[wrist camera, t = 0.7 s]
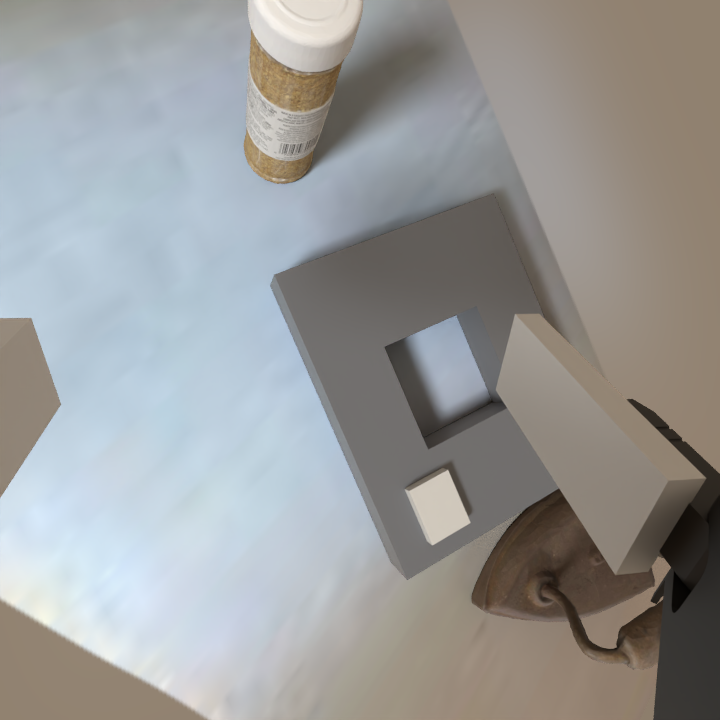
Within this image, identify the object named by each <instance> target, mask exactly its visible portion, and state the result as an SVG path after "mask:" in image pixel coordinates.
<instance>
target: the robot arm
mask: <svg viewBox="0 0 720 720" xmlns="http://www.w3.org/2000/svg"><path fill="white" fill-rule="evenodd" d="M496 391H497V393H498V394H499V396H500V398H501V399H502V401H503V402H504V404H505V405H506V407H507V408H508V410H509V411H510V413H511V415H512V416H513V418H514V419H515V421H516V422H517V424H518V425H519V427H520V428H521V430H522V432H523V433H524V435H525V436H526V438H527V439H528V441H529V442H530V444H531V445H532V447H533V449H534V450H535V452H536V453H537V455H538V456H539V458H540V459H541V461H542V462H543V464H544V466H545V467H546V469H547V470H548V472H549V473H550V475H551V476H552V478H553V480H554V481H555V483H556V484H557V486H558V487H559V489H560V490H561V492H562V493H563V495H564V497H565V498H566V500H567V501H568V503H569V504H570V506H571V507H572V509H573V510H574V512H575V514H576V515H577V517H578V518H579V520H580V521H581V523H582V524H583V526H584V527H585V529H586V531H587V532H588V534H589V535H590V537H591V538H592V540H593V541H594V543H595V545H596V546H597V548H598V549H599V551H600V552H601V554H602V555H603V557H604V558H605V560H606V562H607V563H608V565H609V566H610V568H611V569H612V571H613V572H614V574H615V575H621V574H631V573H641V572H648V571H649V570H650V568H651V567H652V565H653V563H654V562H655V560H656V559H657V557H658V555H659V554H660V553H661V555H662V556H663V557H664V558H665V560H666V561H667V562H668V564H669V565H670V566H671V569H670V570H669V572H668V573H667V575H666V576H665V578H664V579H663V581H662V582H661V584H660V585H659V587H658V588H657V590H656V591H655V593H654V595H653V597H652V599H651V602H653V603H655V604H657V603H658V601H659V600H660V598H661V597H662V596H664V597H663V609H662V621H661V634H660V646H659V658H658V670H657V683H656V696H655V707H654V719H653V720H720V474H719V473H718V472H717V471H716V470H715V469H714V468H713V467H712V466H711V465H710V464H709V463H708V462H706V461H705V460H704V459H703V458H702V457H701V456H700V455H699V454H698V453H697V452H696V451H695V450H694V449H693V448H692V447H690V445H688V444H687V443H686V442H683V441H682V438H681V437H680V436H679V435H678V434H677V433H676V432H675V431H674V430H673V429H669V426H668V425H667V424H666V423H665V422H664V421H663V420H662V419H661V418H660V417H659V416H658V415H657V414H656V413H655V412H653V411H652V410H650V409H648V408H647V407H645V406H643V405H642V404H640V403H638V402H637V401H635V400H633V399H625V398H624V397H623V396H622V395H621V394H620V393H619V392H618V391H617V390H616V389H615V388H614V387H613V386H612V385H611V384H610V383H609V382H608V381H607V380H606V379H605V378H604V377H603V376H602V375H601V374H600V373H599V372H598V371H597V370H596V369H595V368H594V367H593V366H592V365H591V364H590V363H589V362H588V361H587V360H586V359H585V358H584V357H583V356H582V355H581V354H580V353H579V352H578V351H577V350H576V349H575V348H574V347H573V346H572V345H571V344H570V343H568V342H567V341H566V340H565V339H564V338H563V337H562V336H561V335H560V334H559V333H558V332H557V331H556V330H555V329H554V328H553V327H552V326H551V325H550V324H549V323H548V322H547V321H546V320H545V319H544V318H543V317H542V316H541V315H540V314H515V316H514V320H513V324H512V328H511V332H510V336H509V340H508V344H507V347H506V351H505V355H504V359H503V363H502V367H501V371H500V375H499V379H498V382H497V386H496ZM60 405H61V403H60V400H59V397H58V394H57V392H56V389H55V386H54V383H53V380H52V377H51V374H50V371H49V368H48V365H47V363H46V360H45V357H44V354H43V351H42V348H41V345H40V342H39V339H38V336H37V334H36V331H35V328H34V325H33V322H32V319H31V318H0V497H1V496H2V494H3V493H4V491H5V490H6V488H7V487H8V485H9V484H10V482H11V480H12V479H13V477H14V476H15V474H16V473H17V471H18V470H19V468H20V467H21V465H22V464H23V462H24V461H25V459H26V457H27V456H28V454H29V453H30V451H31V450H32V448H33V447H34V445H35V444H36V442H37V441H38V439H39V437H40V436H41V434H42V433H43V431H44V430H45V428H46V427H47V425H48V424H49V422H50V421H51V419H52V417H53V416H54V414H55V413H56V411H57V410H58V408H59V407H60Z"/></svg>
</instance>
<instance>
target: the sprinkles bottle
mask: <svg viewBox="0 0 720 720" xmlns="http://www.w3.org/2000/svg"><path fill="white" fill-rule="evenodd" d="M362 11H363V0H248V17H249V22H250V25H251V47H250V55H249V64H248V86H247V108H246V125H247V129H246V136H245V140H244V150H245V156H246V159H247V161H248V163H249V165H250V166H251V168H252V169H253V171H254V172H256V173H257V174H258V175H259V176H260V177H262V178H264V179H265V180H267V181H271V182H273V183H277V184H279V183H282V184H285V183H289V182H294V181H296V180H298V179H300V178H301V177H302V176H304V175H305V173H306V172H307V170H308V169H309V168H310V166H311V163H312V159H313V150H314V148H315V147H316V145H317V143H318V140H319V137H320V134H321V131H322V129H323V126H324V123H325V120H326V117H327V114H328V111H329V108H330V105H331V102H332V99H333V96H334V93H335V86H336V82H337V78H338V75H339V72H340V69H341V65H342V62H343V60H344V59H345V57H346V56H347V55H348V53H349V52H350V50H351V48H352V45H353V43H354V39H355V36H356V33H357V30H358V27H359V23H360V20H361V15H362Z"/></svg>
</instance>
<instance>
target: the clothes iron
mask: <svg viewBox="0 0 720 720" xmlns="http://www.w3.org/2000/svg"><path fill="white" fill-rule="evenodd" d="M658 556H659V557H661V558H664V557H663V556H662V555H661V553H660V554H659V555H658ZM654 584H655V579H654V576H653V572H652V568H650V570H649V571H648V572H641V573H631V574H621V575H615V574H614V572H613V571H612V569H611V568H610V566H609V565H608V563H607V562H606V560H605V558H604V557H603V555H602V554H601V552H600V551H599V549H598V548H597V546H596V545H595V543H594V541H593V540H592V538H591V537H590V535H589V534H588V532H587V531H586V529H585V527H584V526H583V524H582V523H581V521H580V520H579V518H578V517H577V515H576V514H575V512H574V510H573V509H572V507H571V506H570V504H569V503H568V501H567V500H566V498H565V497H564V495H563V493H562V492H561V490H560V489H557V490H555V491H554V492H552V493H550V494H549V495H547V496H546V497H544V498H542V499H541V500H539V501H537V502H536V503H534V504H533V505H531V506H530V507H529V508H528V509H527V510H526V511H525V512H524V513H522V514H521V515H520V516H519V517H518V518H517V520H516V521H515V522H514V523H513V524H512V525H511V526H510V528H508V529H507V531H506V532H505V533H504V535H503V536H502V538H501V540H500V541H499V542H498V543H497V545H496V547H495V549H494V550H493V551H492V553H491V555H490V556H489V558H488V560H487V562H486V563H485V565H484V568H483V569H482V572H481V574H480V576H479V578H478V580H477V582H476V585H475V587H474V591H473V593H472V603H473V604H474V605H476V606H477V607H479V608H480V609H481V610H483V611H484V612H486V613H490V614H493V615H498V616H504V617H509V618H513V619H522V620H533V621H543V622H562V621H569V622H570V627H571V629H572V632H573V635H574V637H575V639H576V641H577V643H578V645H579V647H580V648H581V650H582V651H583V653H584V654H585V655H587V656H588V657H590V658H591V659H593V660H595V661H598V662H602V663H609V664H626V665H627V666H628V667H630V668H632V669H640V670H644V669H647V668H651V667H653V666H654V665H655V664H656V663H657V662H658V658H659V646H660V634H661V621H662V609H663V600H662V601H661V602H659V603H658V604H657V605H656V606H654V607H651V608H648V609H647V610H646V611H645V612H643V613H642V614H640V615H639V616H637V617H636V618H634V619H633V620H632V621H630V622H629V623H628V624H626V625H624V626H622V627H621V629H620V631H619V634H618V640H617V643H616V645H617V648H614V649H606V648H602V647H599V646H597V645H595V644H593V643H592V642H591V641H590V640H589V639H588V637H587V635H586V632H585V629H584V627H583V625H582V623H581V620H580V618H584V617H587V616H590V615H593V614H597V613H599V612H602V611H604V610H607V609H609V608H611V607H613V606H615V605H617V604H619V603H621V602H624V601H626V600H628V599H630V598H632V597H634V596H635V595H637V594H640V593H642V592H644V591H645V590H647V589H648V588H650V587H654Z"/></svg>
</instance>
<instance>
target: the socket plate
mask: <svg viewBox="0 0 720 720" xmlns="http://www.w3.org/2000/svg"><path fill="white" fill-rule="evenodd" d="M270 286H271V289H272V291H273V293H274V295H275V298H276V300H277V302H278V305H279V307H280V309H281V311H282V314H283V316H284V318H285V321H286V323H287V325H288V327H289V330H290V332H291V334H292V337H293V339H294V341H295V343H296V346H297V348H298V350H299V353H300V355H301V357H302V359H303V362H304V364H305V366H306V369H307V371H308V373H309V376H310V378H311V380H312V382H313V385H314V387H315V389H316V392H317V394H318V396H319V398H320V401H321V403H322V405H323V408H324V410H325V412H326V414H327V417H328V419H329V421H330V424H331V426H332V428H333V430H334V433H335V435H336V437H337V440H338V442H339V444H340V446H341V449H342V451H343V453H344V456H345V458H346V460H347V463H348V465H349V467H350V469H351V472H352V474H353V476H354V479H355V481H356V483H357V485H358V488H359V490H360V492H361V495H362V497H363V499H364V501H365V504H366V506H367V508H368V511H369V513H370V515H371V517H372V520H373V522H374V524H375V527H376V529H377V531H378V533H379V536H380V538H381V540H382V543H383V545H384V547H385V549H386V552H387V554H388V556H389V559H390V561H391V563H392V564H393V565H394V566H395V567H396V568H397V569H398V570H399V572H400V573H401V574H402V575H403V576H404V577H405V578H406V579H407V580H408V579H410V578H411V577H413V576H415V575H416V574H418V573H420V572H421V571H423V570H425V569H426V568H428V567H430V566H431V565H433V564H435V563H436V562H438V561H440V560H441V559H443V558H445V557H446V556H448V555H449V554H451V553H453V552H454V551H456V550H458V549H459V548H461V547H463V546H464V545H466V544H468V543H469V542H471V541H473V540H474V539H476V538H478V537H479V536H481V535H483V534H484V533H486V532H488V531H489V530H491V529H493V528H494V527H496V526H497V525H499V524H501V523H502V522H504V521H506V520H507V519H509V518H511V517H512V516H514V515H516V514H517V513H519V512H521V511H522V510H524V509H526V508H527V507H529V506H531V505H532V504H534V503H536V502H537V501H539V500H541V499H542V498H544V497H546V496H547V495H549V494H550V493H552V492H554V491H555V490H557V489H559V487H558V486H557V484H556V483H555V481H554V480H553V478H552V476H551V475H550V473H549V472H548V470H547V469H546V467H545V466H544V464H543V462H542V461H541V459H540V458H539V456H538V455H537V453H536V452H535V450H534V449H533V447H532V445H531V444H530V442H529V441H528V439H527V438H526V436H525V435H524V433H523V432H522V430H521V428H520V427H519V425H518V424H517V422H516V421H515V419H514V418H513V416H512V415H511V413H510V411H509V410H508V408H507V407H506V405H505V404H504V402H503V401H502V399H501V398H500V396H499V394H498V393H497V391H496V386H497V382H498V379H499V375H500V371H501V367H502V363H503V359H504V355H505V351H506V347H507V344H508V340H509V336H510V332H511V328H512V324H513V320H514V316H515V314H540V315H541V316H542V317H543V318H544V319H545V317H544V315H543V312H542V310H541V307H540V305H539V302H538V300H537V298H536V295H535V293H534V290H533V288H532V285H531V283H530V280H529V278H528V276H527V273H526V271H525V268H524V266H523V263H522V261H521V259H520V256H519V254H518V251H517V249H516V246H515V244H514V241H513V239H512V237H511V234H510V232H509V229H508V227H507V224H506V222H505V219H504V217H503V215H502V212H501V210H500V207H499V205H498V202H497V200H496V197H495V195H494V193H493V194H491V195H488V196H485V197H482V198H480V199H477V200H474V201H472V202H469V203H466V204H464V205H461V206H458V207H456V208H453V209H450V210H447V211H445V212H442V213H439V214H437V215H434V216H431V217H429V218H426V219H423V220H421V221H418V222H415V223H412V224H410V225H407V226H404V227H402V228H399V229H396V230H394V231H391V232H388V233H386V234H383V235H380V236H377V237H375V238H372V239H369V240H367V241H364V242H361V243H359V244H356V245H353V246H350V247H348V248H345V249H342V250H340V251H337V252H334V253H332V254H329V255H326V256H324V257H321V258H318V259H315V260H313V261H310V262H307V263H305V264H302V265H299V266H297V267H294V268H291V269H289V270H286V271H283V272H280V273H278V274H275V275H274V277H273V280H272V283H271V285H270ZM455 315H457V318H458V320H459V322H460V325H461V327H462V330H463V332H464V334H465V337H466V339H467V342H468V344H469V346H470V349H471V351H472V353H473V356H474V358H475V361H476V363H477V365H478V368H479V370H480V373H481V375H482V377H483V380H484V382H485V384H486V387H487V389H488V392H489V394H490V396H491V399H492V401H493V402H492V403H490V404H488V405H486V406H484V407H482V408H481V409H479V410H477V411H475V412H473V413H471V414H469V415H467V416H465V417H463V418H461V419H459V420H457V421H455V422H453V423H451V424H450V425H448V426H446V427H444V428H442V429H440V430H438V431H436V432H434V433H432V434H430V435H428V436H426V437H424V438H423V436H422V434H421V432H420V429H419V427H418V425H417V422H416V420H415V418H414V415H413V413H412V411H411V408H410V406H409V404H408V401H407V399H406V397H405V394H404V392H403V390H402V387H401V385H400V383H399V380H398V378H397V376H396V373H395V371H394V369H393V366H392V364H391V362H390V359H389V357H388V355H387V352H386V350H385V348H384V347H385V346H387V345H390V344H392V343H394V342H396V341H399V340H401V339H403V338H405V337H408V336H410V335H412V334H414V333H417V332H419V331H421V330H423V329H426V328H428V327H430V326H432V325H435V324H437V323H439V322H441V321H444V320H446V319H448V318H450V317H453V316H455Z"/></svg>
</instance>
